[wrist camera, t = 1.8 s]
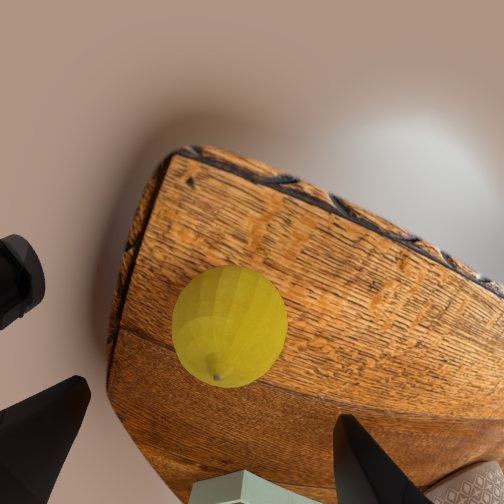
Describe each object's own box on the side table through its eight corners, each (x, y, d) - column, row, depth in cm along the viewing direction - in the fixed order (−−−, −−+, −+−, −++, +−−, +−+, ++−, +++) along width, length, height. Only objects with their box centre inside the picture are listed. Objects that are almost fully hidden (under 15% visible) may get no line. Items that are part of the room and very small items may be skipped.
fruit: (184, 255, 17) (121, 325, 10) (275, 236, 16) (274, 305, 9) (209, 333, 19) (175, 424, 11) (292, 320, 18) (298, 418, 10)
